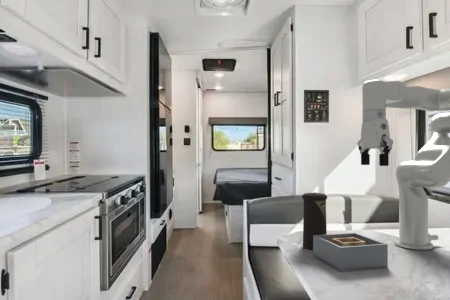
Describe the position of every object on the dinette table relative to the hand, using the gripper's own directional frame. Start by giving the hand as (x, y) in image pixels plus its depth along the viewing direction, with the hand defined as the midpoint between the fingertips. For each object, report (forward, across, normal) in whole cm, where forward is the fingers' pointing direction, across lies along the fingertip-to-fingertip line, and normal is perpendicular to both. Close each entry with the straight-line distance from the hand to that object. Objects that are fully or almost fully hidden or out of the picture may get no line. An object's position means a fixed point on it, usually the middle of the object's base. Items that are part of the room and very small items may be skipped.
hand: (374, 165), depth 122 cm
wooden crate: (+29, -7, +15) cm, 34 cm away
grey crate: (+30, -7, +15) cm, 34 cm away
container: (+30, +11, +17) cm, 37 cm away
